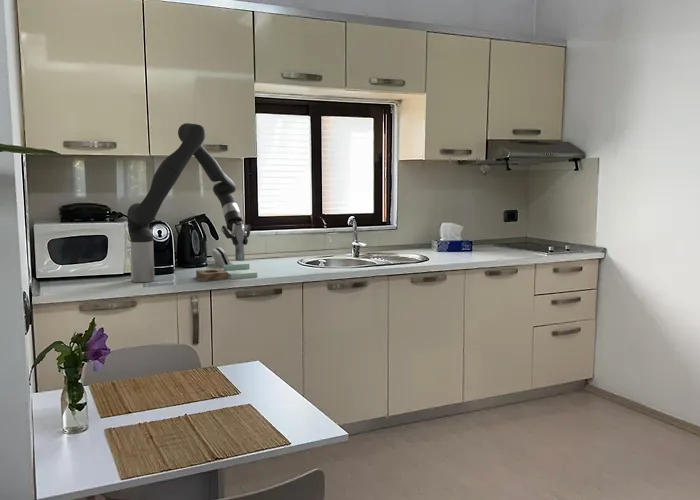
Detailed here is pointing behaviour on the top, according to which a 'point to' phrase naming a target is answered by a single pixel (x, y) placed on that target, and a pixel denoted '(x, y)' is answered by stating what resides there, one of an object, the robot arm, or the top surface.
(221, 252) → the grey curved piece
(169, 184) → the robot arm
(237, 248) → the rod
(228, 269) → the rack base
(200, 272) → the socket block
